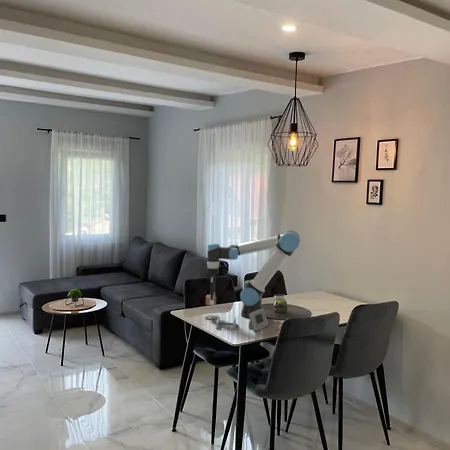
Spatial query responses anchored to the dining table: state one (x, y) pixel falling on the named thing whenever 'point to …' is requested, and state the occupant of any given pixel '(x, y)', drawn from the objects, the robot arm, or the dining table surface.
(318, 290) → the dining table surface
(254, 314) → the digital clock
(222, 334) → the dining table surface
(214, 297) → the block
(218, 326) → the channel
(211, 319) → the coaster
